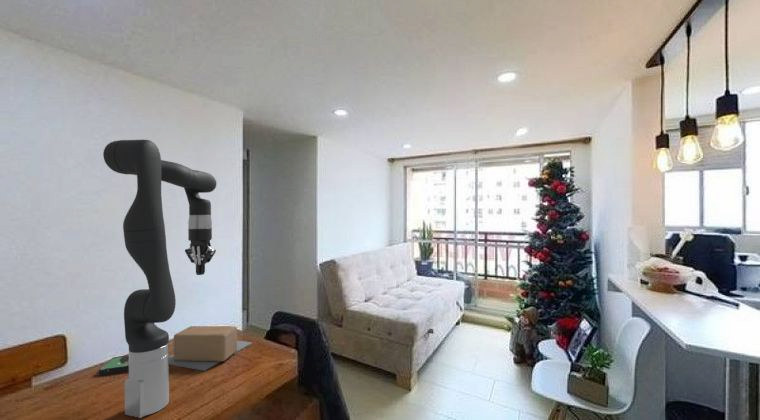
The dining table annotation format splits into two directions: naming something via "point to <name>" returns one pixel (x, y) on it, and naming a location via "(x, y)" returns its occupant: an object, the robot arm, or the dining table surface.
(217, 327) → the wooden block
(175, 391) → the dining table surface
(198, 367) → the mat
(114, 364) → the disk drive
